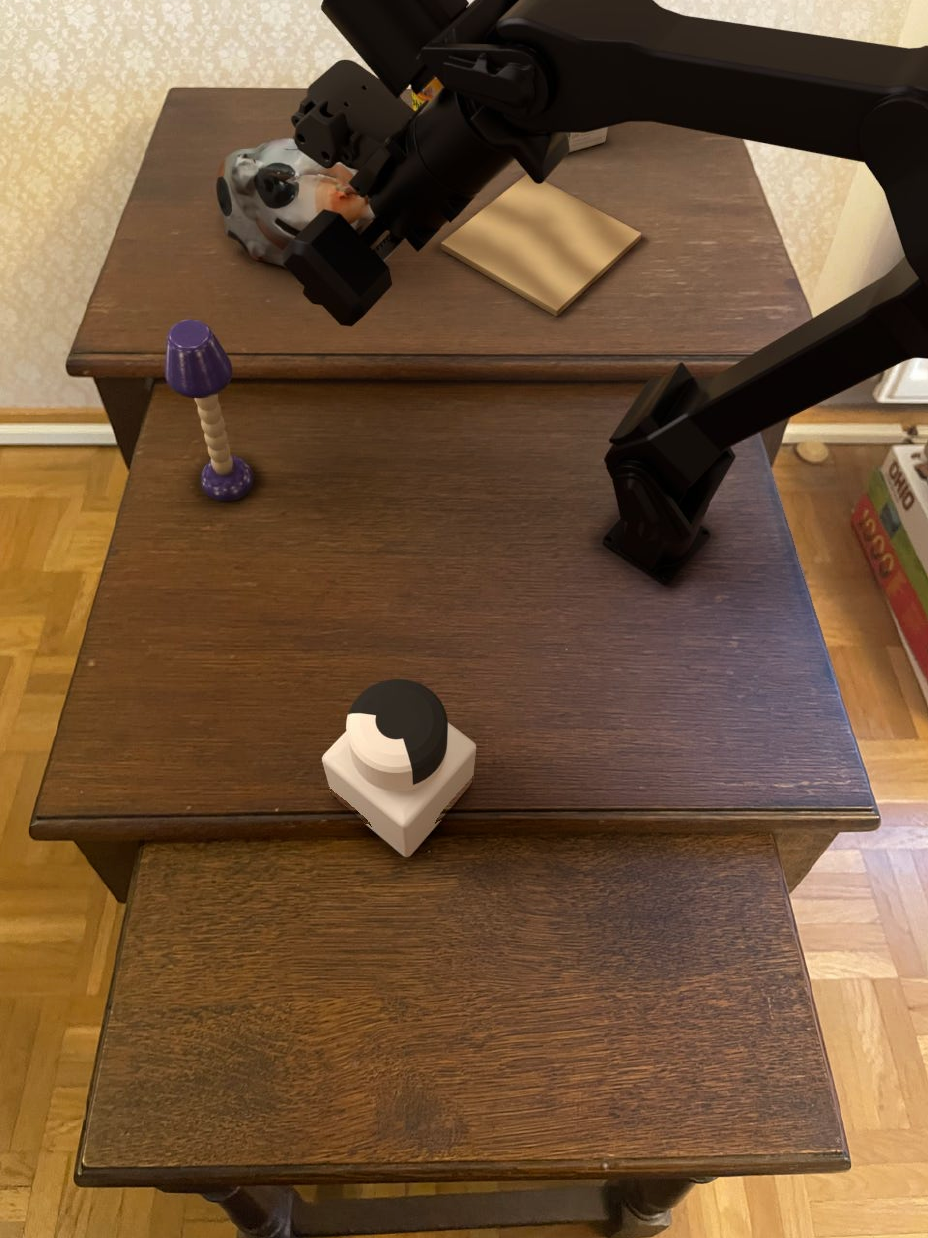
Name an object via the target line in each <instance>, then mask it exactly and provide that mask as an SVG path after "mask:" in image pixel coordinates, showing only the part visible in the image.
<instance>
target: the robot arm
mask: <svg viewBox="0 0 928 1238" xmlns="http://www.w3.org/2000/svg"><path fill="white" fill-rule="evenodd" d="M320 10H321V12H322V14H324V15H325V16H326V17H327V19H328V20H329V21H330V22H331V23H332V25H333V26H334V27H335V28H336V29H337V30H338V32H339V33H340V34H341V35H342V37H343V38H344V39H345V40H346V41H347V42H348V44H349V45H350V46H351V47H352V48H353V50H354V51H355V52H356V53H357V55H358V56H359V57H360V58H361V59H362V60H363V62H364V63H365V64H366V66H368V68H369V69H370V70H371V71H372V73H371V71H369V70H368V69H366V68H365V67H363V66H362V65H361V64H359V63H358V62H356V61H354V60H351V59H340V60H338V61H336V62H335V63H334V64H333V65H332V66H330V67H329V68H328V69H327V70H326V71H325V72H323V73H322V74H321V75H320V76H319V77H318V78H316V79H315V80H314V81H313V82H312V83H311V84H310V85H309V86H308V87H307V91H306V96H305V98H303V100H301V101H300V102H299V107H298V110H297V111H296V112H295V113H293V114H292V115H291V117H290V121H291V124H292V126H293V127H294V134H295V135H294V134H293V136H294V142H295V144H296V146H297V148H298V149H299V150H300V151H301V152H302V153H304V154H305V155H307V156H308V157H309V158H311V159H312V160H314V161H315V162H316V163H318V164H319V165H321V166H322V167H324V168H326V169H328V168H332V167H333V166H334V165H335V164H336V163H338V162H340V163H342V164H343V165H345V166H346V167H348V168H351V169H354V170H356V172H357V173H356V174H355V175H354V177H353V178H352V179H351V180H350V181H349V182H348V183H349V184H350V185H351V187H352V188H353V189H354V190H355V191H356V192H357V193H358V194H359V196H360V197H362V198H364V197H365V196H366V195H367V196H368V197H369V200H368V202H369V205H370V208H371V210H372V212H373V213H374V215H375V217H373V218H372V219H373V220H372V221H371V222H370V223H369V224H368V225H367V226H366V227H365V228H364V229H363V230H362V232H360V233H359V232H358V231H357V229H356V230H355V229H354V228H353V227H352V226H351V225H350V224H349V222H348V221H347V220H346V219H345V218H344V217H343V216H342V215H341V214H340V213H337V212H333V211H330V210H326V209H323V210H322V211H321V212H320V213H319V214H318V215H317V216H316V217H315V218H314V219H313V220H312V221H311V222H310V223H309V224H308V225H307V226H306V227H305V228H304V229H303V230H302V231H301V232H300V233H299V234H298V235H297V236H296V237H295V238H294V239H293V240H292V241H291V242H290V243H289V244H288V245H287V247H286V248H285V249H284V250H283V251H282V260H283V265H284V266H285V268H286V269H287V270H288V271H289V272H290V274H291V275H292V276H293V277H294V278H295V279H296V280H297V281H298V282H299V283H300V284H301V285H302V287H303V288H302V295H303V296H304V297H305V298H306V300H308V301H309V302H310V303H311V304H312V305H316V306H322V307H323V308H324V309H325V310H326V311H327V312H328V314H329V315H330V316H331V317H332V318H333V319H334V320H335V321H336V322H337V323H338V324H339V326H342V327H343V326H344V327H354V325H356V324H357V322H359V321H361V319H363V318H364V316H366V314H368V312H369V311H370V310H371V309H372V308H373V307H374V306H375V304H377V303H378V302H379V300H381V298H382V297H383V296H384V295H385V294H386V293H387V292H388V290H389V289H390V288H391V287H392V286H393V279H392V274H391V269H390V266H389V265H388V264H387V263H386V262H385V261H386V260H387V259H389V257H390V256H391V255H392V254H393V253H394V252H395V251H396V250H397V249H398V248H399V246H400V245H402V243H403V242H404V241H405V240H406V241H407V243H408V244H409V245H410V246H411V247H412V248H413V249H414V251H415V252H417V253H418V252H420V251H421V250H422V249H423V248H424V247H425V246H426V245H427V244H428V243H429V242H430V241H431V240H432V239H433V237H434V236H435V235H437V233H438V232H439V231H440V230H441V229H442V228H443V226H445V224H446V223H449V224H450V223H452V222H453V221H454V220H455V219H456V218H457V217H459V216H460V215H461V214H462V212H463V211H464V210H465V209H466V208H467V207H468V206H469V204H470V203H471V202H472V201H473V200H474V199H475V198H476V197H477V196H478V195H479V194H480V193H481V192H482V191H483V190H484V189H486V188H487V186H488V185H489V184H491V183H492V182H493V181H494V180H495V179H496V178H497V177H498V176H500V174H502V173H503V172H504V171H506V169H507V168H508V167H510V166H511V165H512V164H513V163H514V162H515V161H516V162H517V163H518V164H519V166H520V167H521V168H522V169H523V171H524V172H525V173H526V174H528V175H529V176H530V178H531V179H532V180H533V181H534V182H535V183H537V184H541V183H543V182H544V181H545V180H546V179H548V177H550V175H551V174H552V172H553V171H554V170H555V169H556V168H557V167H558V166H559V165H560V164H561V162H562V161H563V160H564V159H565V158H566V156H568V154H569V153H570V152H569V151H570V146H569V140H568V135H567V133H585V132H590V131H594V130H598V129H602V128H606V127H608V128H609V127H613V126H617V125H621V124H625V123H632V122H633V123H634V122H636V123H639V122H640V123H641V122H643V123H644V122H645V123H646V122H647V123H648V122H649V123H656V124H662V125H667V126H672V127H677V128H683V129H688V130H691V131H692V130H693V131H697V132H703V133H707V134H708V133H709V134H713V135H719V136H723V137H729V138H734V139H740V140H744V141H749V142H755V143H760V144H764V145H765V144H766V145H769V146H770V145H771V146H776V147H781V148H786V149H792V150H796V151H802V152H807V153H813V154H816V155H817V154H818V155H822V156H827V157H833V158H839V159H844V160H848V161H849V160H850V161H855V162H858V163H859V162H860V163H864V164H865V166H866V167H867V169H868V170H869V171H870V173H871V174H872V176H873V177H874V179H875V180H876V181H877V183H878V184H879V185H880V187H881V189H882V190H883V193H884V196H885V199H886V203H887V205H888V208H889V211H890V214H891V216H892V220H893V223H894V227H895V229H896V231H897V235H898V239H899V242H900V245H901V248H902V250H903V254H904V256H903V257H902V258H901V259H900V260H899V261H898V262H897V263H896V264H895V266H894V267H893V268H892V269H891V270H889V271H888V272H887V273H886V274H885V275H883V276H881V277H880V278H878V279H876V280H874V281H873V282H871V283H870V284H868V285H866V286H865V287H863V288H861V289H860V290H858V291H856V292H855V293H853V294H851V295H850V296H848V297H846V298H844V299H842V300H841V301H840V302H838V303H836V304H834V305H832V306H831V307H829V308H827V309H826V310H824V311H822V312H821V313H819V314H818V315H816V316H814V317H812V318H810V319H808V320H807V321H805V322H803V323H802V324H800V325H799V326H797V327H796V328H794V329H792V330H791V331H789V332H787V333H786V334H784V335H782V336H780V337H779V338H777V339H775V340H773V341H772V342H770V343H769V344H767V345H765V346H764V347H762V348H760V349H758V350H757V351H755V352H753V353H752V354H750V355H748V356H746V357H745V358H743V359H742V360H740V361H739V362H737V363H735V364H733V365H732V366H730V367H728V368H726V369H725V370H723V371H721V372H720V373H718V374H716V375H714V376H712V377H702V376H697V375H696V376H695V375H692V373H691V372H690V371H689V369H688V368H687V366H686V365H685V363H683V362H679V363H678V364H677V365H675V366H674V367H673V368H672V369H671V371H669V372H668V373H667V374H666V375H664V376H661V377H659V378H654V379H649V380H648V381H647V382H646V384H645V385H644V386H643V388H642V389H641V391H640V392H639V394H638V395H637V397H636V399H634V402H633V403H632V404H631V406H630V408H629V409H628V410H627V412H626V413H625V415H624V416H623V418H621V419H622V420H621V421H620V422H619V424H618V425H617V426H616V428H615V430H614V432H613V433H612V434H611V436H610V438H609V439H608V442H609V443H610V444H612V445H611V446H610V448H609V450H608V451H607V452H606V454H605V456H604V458H603V461H604V464H605V468H606V470H607V473H608V475H609V477H610V479H611V481H612V486H613V490H614V491H613V492H614V495H615V499H616V504H617V509H618V513H619V519H618V520H617V521H616V523H615V524H614V525H612V527H611V528H610V529H609V530H608V532H606V534H604V536H603V537H602V541H601V543H602V545H603V547H605V548H606V549H607V550H609V551H611V552H612V553H613V554H615V555H617V556H618V557H620V558H622V559H623V560H624V561H626V562H627V563H629V564H630V565H632V566H634V567H635V568H637V569H638V570H640V571H641V572H643V573H644V574H645V575H647V576H649V577H650V578H652V579H653V580H655V581H657V583H659V584H661V585H662V586H666V587H667V586H670V585H672V584H673V582H674V581H675V580H676V579H677V577H678V576H680V574H681V573H682V572H683V570H684V569H685V568H686V566H688V565H689V563H690V562H691V561H692V560H693V558H694V557H695V556H697V554H698V552H699V551H700V550H701V549H702V548H703V546H704V545H705V544H706V543H707V542H708V541H709V539H710V537H711V531H710V530H709V529H708V528H706V527H705V526H704V525H702V524H703V521H704V518H705V516H706V514H707V511H708V509H709V506H710V503H711V501H712V500H713V498H714V497H715V494H716V492H717V491H718V489H719V488H720V486H721V484H722V482H723V480H724V479H725V478H726V475H727V473H728V472H729V470H730V469H731V466H732V465H733V463H734V461H735V460H736V457H737V455H736V454H735V452H734V451H733V449H732V448H731V447H733V446H736V445H737V444H740V443H741V442H744V441H745V440H747V439H750V438H751V437H753V436H756V435H758V434H760V433H762V432H764V431H765V430H768V429H770V428H772V427H775V426H777V425H778V424H780V423H782V422H784V421H786V420H789V419H790V418H792V417H794V416H796V415H798V414H800V413H803V412H804V411H806V410H809V409H811V408H813V407H814V406H816V405H818V404H820V403H823V402H825V401H827V400H829V399H830V398H833V397H835V396H837V395H839V394H841V393H843V392H845V391H847V390H849V389H851V388H854V387H855V386H857V385H859V384H861V383H863V382H866V381H868V380H869V379H871V378H873V377H875V376H877V375H880V374H881V373H883V372H885V371H888V370H889V369H891V368H894V367H896V366H898V365H900V364H902V363H904V362H906V361H909V360H913V359H924V360H925V359H926V360H928V44H927V45H923V46H920V47H904V46H903V47H902V46H895V45H889V44H883V43H882V44H881V43H877V42H869V41H862V40H855V39H850V38H849V39H847V38H842V37H841V38H840V37H835V36H828V35H827V36H826V35H820V34H814V33H807V32H801V31H793V30H786V29H779V28H774V27H766V26H759V25H753V24H745V23H739V22H733V21H726V20H718V19H713V18H704V17H699V16H698V17H697V16H690V15H685V14H681V13H679V12H676V11H673V10H670V9H667V8H664V7H662V6H660V4H658V3H657V2H656V1H655V0H472V1H471V2H469V1H468V0H322V2H321V5H320ZM373 73H374V74H375V75H374V74H373ZM435 77H436V78H437V79H438V80H439V82H440V83H441V84H442V85H443V87H442V88H441V89H440V90H439V91H438V93H437V94H436V95H435V96H434V97H433V98H432V99H431V101H430V102H429V100H428V99H427V100H426V101H425V102H424V103H423V104H422V105H421V106H420V107H419V108H418V109H417V110H416V111H414V110H413V109H412V106H410V105H409V104H408V103H406V101H404V100H403V99H402V95H403V93H404V92H406V90H407V89H408V88H409V87H410V90H411V91H412V90H413V92H414V93H415V94H416V95H418V94H419V93H420V92H421V91H422V90H423V89H424V88H425V87H426V86H427V85H428V84H429V83H430V82H431V81H432V80H433V79H434V78H435ZM545 182H546V181H545ZM387 231H388V234H386V235H385V237H384V238H383V239H382V240H381V241H380V242H379V243H378V244H377V245H376V246H375V247H374V248H372V246H373V245H374V244H375V243H376V242H377V241H378V240H379V239H380V238H381V237H382V236H383V234H385V233H386V232H387ZM284 266H283V267H284ZM609 541H610V542H609Z"/></svg>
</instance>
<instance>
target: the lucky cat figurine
mask: <svg viewBox="0 0 928 1238" xmlns="http://www.w3.org/2000/svg"><path fill="white" fill-rule="evenodd" d="M294 135H295V133H294V134H293V135H292V138H291V137H288V138H286V137H284V138H277V139H273V140H270V141H267V142H263V143H261V144H259V145H258V146H256V147H254V148H253V147H252V148H240V149H237V150H235V151H232V152H231V153H230V154H228V155H227V156H226V157H225V158H224V159H223V160H222V161H221V164H220V165H219V168H218V172H217V175H216V182H215V191H216V198H217V202H218V207H219V210H220V213H221V217H222V221H223V224H224V231H225V235H226V236H228V237H229V238H231V239H232V240H233V239H234V240H235V241H237V242H238V243H239V244H240V246H241V247H242V248H243V249H244V250H245V251H246V252H247V254H248V255H249V256H250V258H251V259H253V260H255V261H257V262H258V261H259V262H265V263H269V264H273V265H276V266H277V265H278V266H280V267H285V266H284V265H283V260H282V251H283V250H284V249H285V248H286V247H287V245H288V244H289V243H290V242H291V241H292V240H293V239H294V238H295V237H296V236H297V235H298V234H299V233H300V232H301V231H302V230H303V229H304V228H305V227H306V226H307V225H308V224H309V223H310V222H311V221H312V220H313V219H314V218H315V217H316V216H317V215H318V214H319V213H320V212H321V211H322V210H323V209H326V210H330V211H333V212H337V213H340V214H341V215H342V216H343V217H344V218H345V219H346V220H347V221H348V222H349V224H350V225H351V226H352V227H353V228H354V229H355V230H356V231H357V229H359V228H360V227H362V226H363V225H365V224H366V223H368V222H369V221H371V220H372V219H374V217H375V215H374V213H373V212H372V210H371V208H370V205H369V202H368V200H369V197H368V196H367V195H366V196H365V197H364V198H362V197H360V196H359V194H358V193H357V192H356V191H355V190H354V189H353V188H352V187H351V185H350V184H349V183H348V182H349V181H350V180H351V179H352V178H353V177H354V175H355V174H356V173H357V172H358V171H357V170H354V169H351V168H348V167H346V166H345V165H343V164H342V163H340V162H338V163H336V164H335V165H334V166H333V167H332V168H328V169H326V168H324V167H322V166H321V165H319V164H318V163H316V162H315V161H314V160H312V159H311V158H309V157H308V156H307V155H305V154H304V153H302V152H301V151H300V150H299V149H298V148H297V146H296V144H295V142H294ZM285 268H286V267H285Z"/></svg>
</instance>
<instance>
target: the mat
mask: <svg viewBox="0 0 928 1238" xmlns="http://www.w3.org/2000/svg"><path fill="white" fill-rule="evenodd" d="M641 239H642V232H641V231H638V230H636V229H634V228H633V227H631V226H628V225H627V224H625V223H623V222H621V221H619V220H618V219H616V218H614V217H612V216H611V215H609V214H606V213H604V211H603V212H602V211H601V210H599V209H598V208H595V207H593V206H592V205H589V204H588V203H586V202H584V201H583V200H580V199H578V198H577V197H575V196H574V195H571V194H569V193H567V192H566V191H563V190H562V189H560V188H558V187H556V186H554V185H552V184H550V183H549V182H547V181H544V182H543V183H541V184H537V183H535V182H534V181H533V180H532V179H531V178H530V176H529V175H528V174H527V173H526V174H525V175H524V176H523V177H522V178H520V179H519V180H518V181H516V182H515V183H514V184H513V185H511V186H510V187H509V188H507V189H506V190H505V191H503V193H501V194H500V195H499V196H497V197H496V198H495V199H494V200H492V201H491V202H490V203H489V204H487V205H486V206H485V207H484V208H482V209H481V210H480V211H479V212H478V213H476V214H475V215H474V216H473V217H471V218H470V219H469V220H468V221H466V222H465V223H463V225H461V226H460V227H459V228H458V229H457V230H455V231H453V233H451V234H450V235H449V236H448V237H446V238H445V239H444V240H443V241H442V242H440V249H441V251H443V252H445V253H446V254H448V255H450V256H452V257H453V258H455V259H457V260H458V261H460V262H462V263H464V264H466V265H467V266H469V267H470V268H473V270H475V271H478V272H479V273H481V274H482V275H484V276H486V277H488V278H489V279H491V280H492V281H494V282H496V283H497V284H500V285H501V286H503V287H505V288H506V289H508V290H510V291H512V292H513V293H515V294H517V295H519V296H520V297H521V298H523V299H525V300H527V301H528V302H530V303H532V304H533V305H536V306H537V307H539V308H540V309H542V310H544V311H545V312H548V313H549V314H551V315H553V316H554V317H558V316H559V315H560V314H561V313H563V311H565V310H566V309H567V308H568V307H569V306H570V305H571V304H572V303H573V302H575V300H577V299H578V298H579V297H580V296H581V295H582V294H583V293H584V292H585V291H586V290H587V289H589V288H590V287H592V285H593V284H594V283H595V282H596V281H597V280H598V279H599V278H600V277H602V276H603V275H604V274H605V273H606V272H607V271H608V270H609V269H610V268H612V267H613V266H614V265H615V264H617V262H618V261H619V260H620V259H622V258H623V256H624V255H625V254H627V253H628V252H629V251H630V250H632V248H633V247H634V246H635V245H637V244H638V243H639V242H640V241H641Z"/></svg>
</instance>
